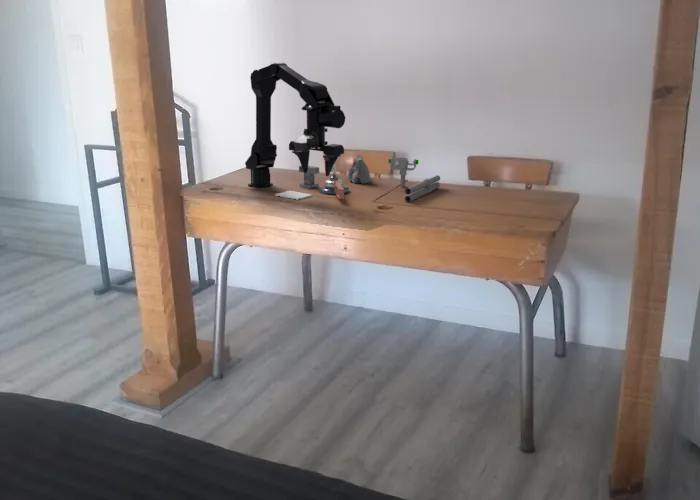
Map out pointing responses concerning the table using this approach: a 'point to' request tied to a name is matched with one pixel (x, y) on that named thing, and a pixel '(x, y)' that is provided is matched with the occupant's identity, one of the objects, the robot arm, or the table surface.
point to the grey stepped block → (309, 177)
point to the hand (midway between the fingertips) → (316, 174)
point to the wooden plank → (335, 184)
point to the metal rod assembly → (424, 184)
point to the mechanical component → (402, 167)
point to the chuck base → (331, 192)
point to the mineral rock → (359, 171)
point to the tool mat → (293, 195)
